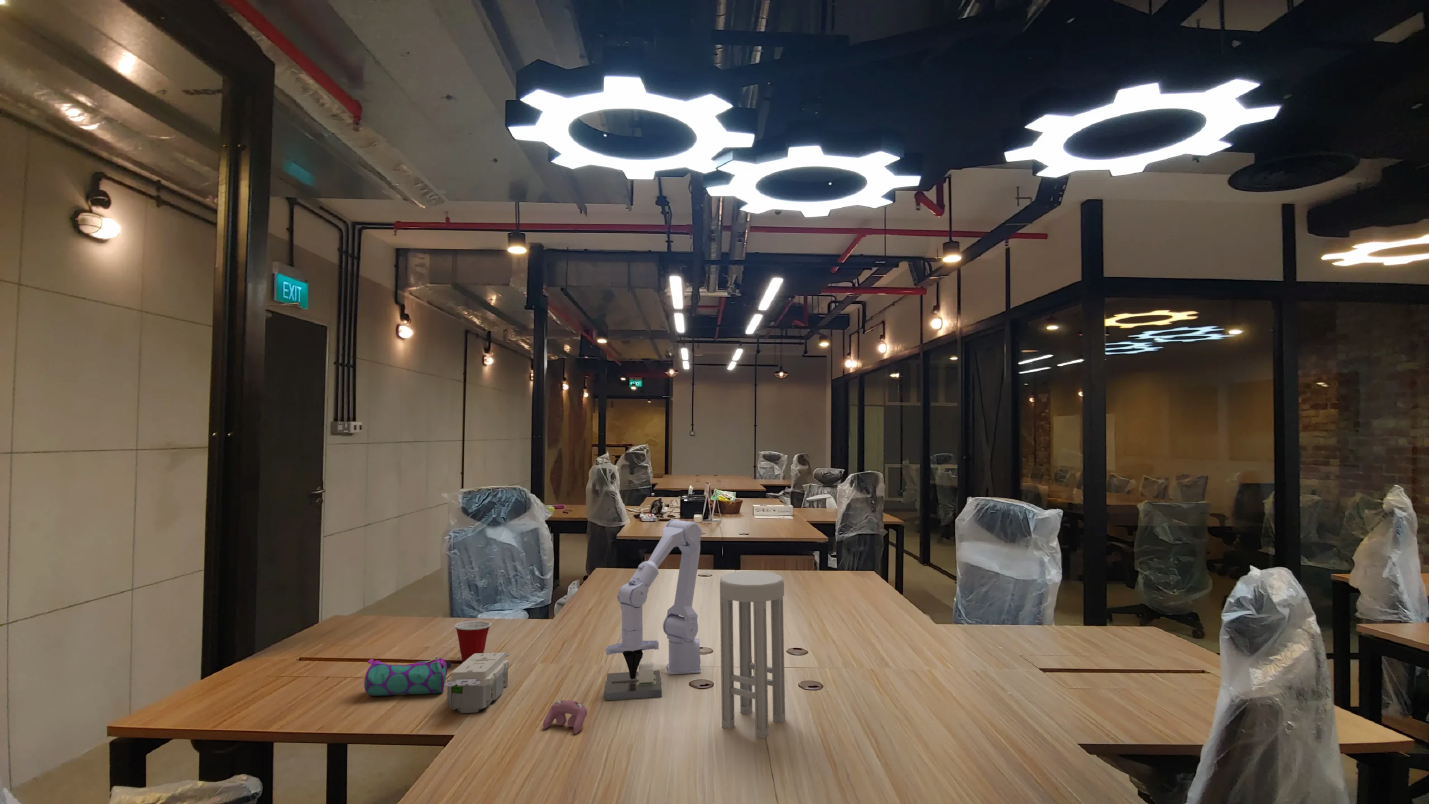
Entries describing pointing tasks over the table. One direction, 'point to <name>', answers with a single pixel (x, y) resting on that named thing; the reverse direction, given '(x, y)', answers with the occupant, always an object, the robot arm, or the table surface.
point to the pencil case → (406, 677)
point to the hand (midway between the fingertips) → (632, 677)
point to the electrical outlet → (477, 682)
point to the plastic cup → (472, 637)
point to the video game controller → (564, 708)
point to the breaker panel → (631, 687)
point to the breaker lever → (646, 672)
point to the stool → (758, 591)
